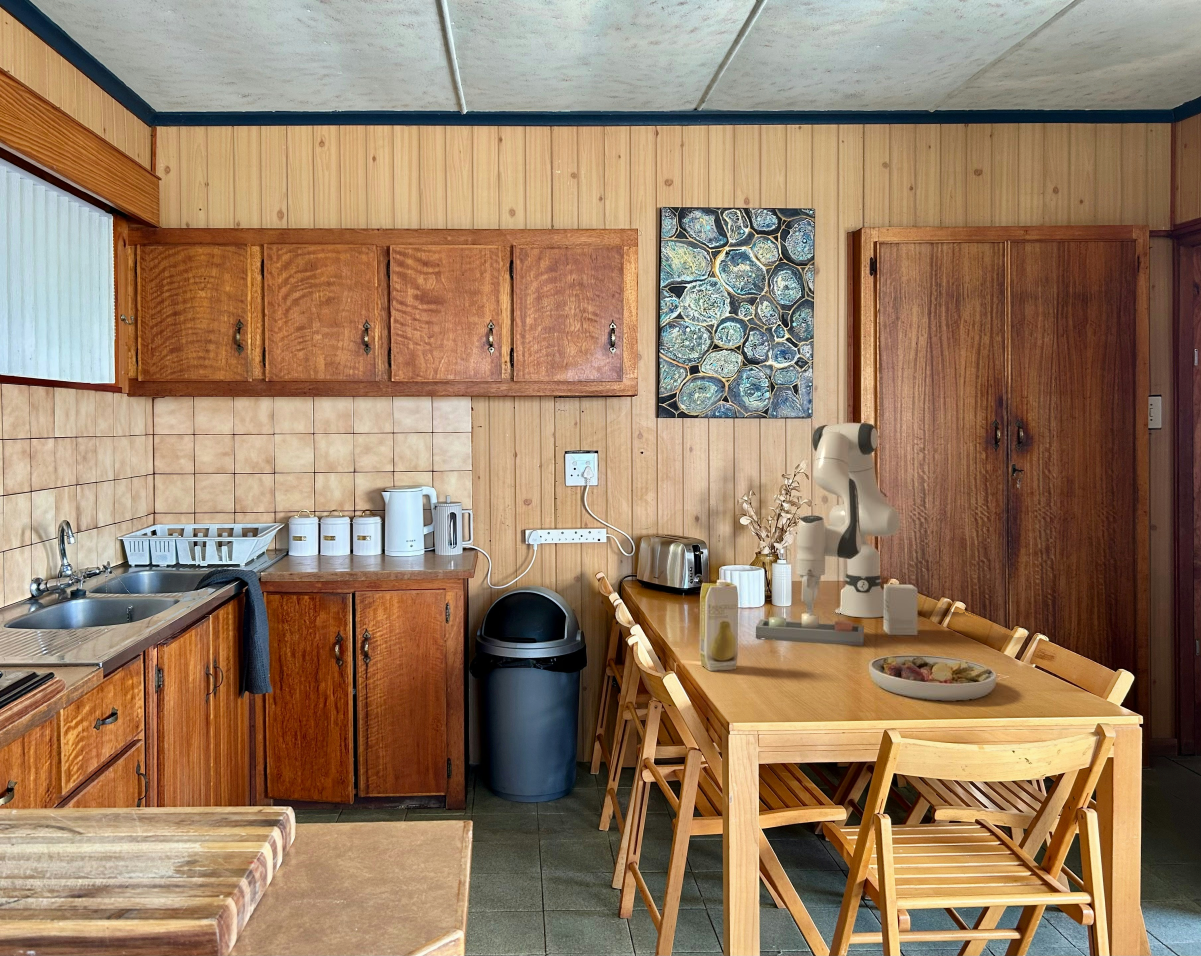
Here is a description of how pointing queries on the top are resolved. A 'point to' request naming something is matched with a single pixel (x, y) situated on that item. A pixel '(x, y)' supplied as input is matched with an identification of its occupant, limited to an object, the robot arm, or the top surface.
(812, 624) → the cream round piece
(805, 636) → the grey rectangular tray
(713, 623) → the juice carton
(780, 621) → the sage button
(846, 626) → the brick button
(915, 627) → the supplement box
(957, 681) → the bowl
